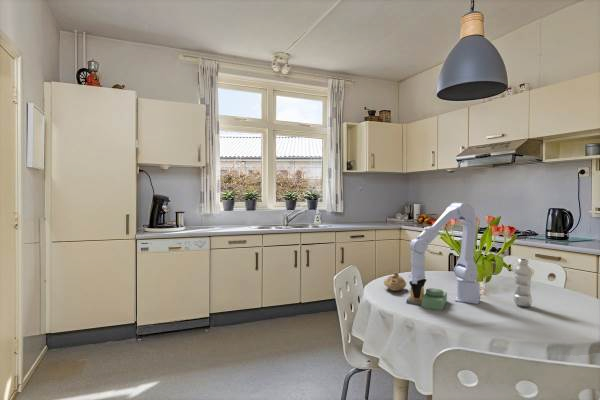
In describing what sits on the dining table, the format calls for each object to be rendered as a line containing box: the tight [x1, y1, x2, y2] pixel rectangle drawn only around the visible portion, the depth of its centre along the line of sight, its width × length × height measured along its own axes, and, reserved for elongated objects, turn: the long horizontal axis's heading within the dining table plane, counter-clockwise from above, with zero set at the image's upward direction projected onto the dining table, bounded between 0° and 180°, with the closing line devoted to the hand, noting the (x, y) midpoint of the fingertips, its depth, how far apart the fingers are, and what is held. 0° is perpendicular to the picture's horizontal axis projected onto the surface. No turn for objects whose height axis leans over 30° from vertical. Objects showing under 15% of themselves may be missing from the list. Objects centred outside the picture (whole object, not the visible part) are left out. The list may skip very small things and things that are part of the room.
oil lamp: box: [383, 271, 407, 292], centre depth 179 cm, size 11×15×8 cm
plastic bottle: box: [513, 258, 533, 308], centre depth 153 cm, size 6×7×20 cm
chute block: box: [410, 285, 425, 301], centre depth 160 cm, size 5×4×6 cm
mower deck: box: [405, 287, 448, 311], centre depth 158 cm, size 15×14×6 cm
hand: (418, 296), depth 160 cm, fingers closed on chute block, 4 cm apart
